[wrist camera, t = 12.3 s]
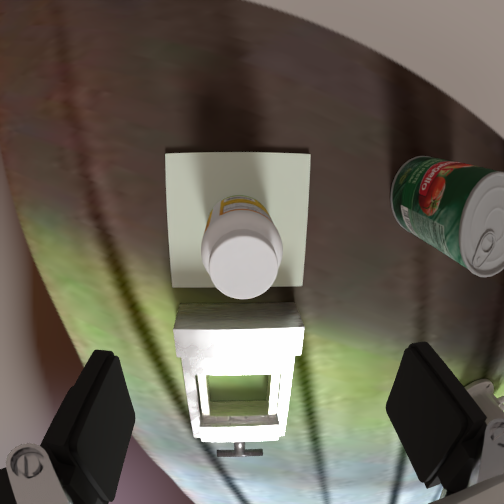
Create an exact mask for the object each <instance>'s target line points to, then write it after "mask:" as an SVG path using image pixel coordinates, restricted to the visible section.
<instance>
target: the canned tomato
mask: <svg viewBox="0 0 504 504" xmlns="http://www.w3.org/2000/svg"><path fill="white" fill-rule="evenodd" d="M390 202H391V208H392V211H393V215H394V217H395V219H396V220H397V222H398V223H399V224H400V226H401V227H403V228H404V229H405V230H406V231H408V232H411V233H413V234H414V235H415V236H417V237H419V238H420V239H422V240H423V241H425V242H427V243H428V244H430V245H432V246H433V247H435V248H437V249H438V250H439V251H441V252H443V253H444V254H446V255H447V256H448V257H450V258H452V259H453V260H454V261H457V262H458V263H459V264H460V265H462V266H464V267H466V268H467V269H469V270H470V271H471V272H472V273H473V274H475V275H477V276H479V277H490V276H493V275H495V274H497V273H499V272H500V271H502V270H503V269H504V172H500V171H495V170H491V169H486V168H483V167H478V166H473V165H470V164H465V163H460V162H455V161H450V160H444V159H439V158H433V157H430V156H418V157H414V158H412V159H410V160H408V161H407V162H406V163H404V164H403V165H402V167H401V168H400V169H399V170H398V172H397V174H396V175H395V177H394V180H393V183H392V187H391V193H390Z"/></svg>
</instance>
